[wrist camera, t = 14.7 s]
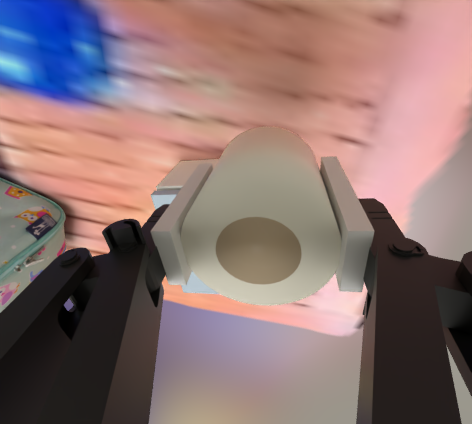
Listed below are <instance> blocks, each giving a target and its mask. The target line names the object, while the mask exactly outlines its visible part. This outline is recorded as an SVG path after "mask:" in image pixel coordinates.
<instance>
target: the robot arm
mask: <svg viewBox="0 0 472 424" xmlns="http://www.w3.org/2000/svg"><path fill="white" fill-rule="evenodd" d="M212 170H213V166H212V163H206V164H199V165H198V166H197V168H196V169H195V170H194V172H193V173H192V175H191V176H190V177H189V179H188V180H187V181H186V183H185V184H184V186H183V187H182V188H181V190H180V191H179V193H178V194H177V195H176V197H175V198H174V199H173V201H172V202H171V204H163V205H162V206H161V207H159V208H158V209H156V210H155V211H154V213H153V214H152V215H151V217H150V218H149V219H148V220H147V222H146V223H145V224H144V225H143V227H142V228H141V226H140V224H139V222H138V221H137V220H134V219H124V220H120V221H117V222H115V223H113V224H111V225H109V226H108V227H106V228H105V229H104V230H103V232H102V233H103V236H104V238H105V240H106V242H107V244H108V246H109V248H110V252H109V253H108V254H103V255H99V256H94V257H92V255H91V253H90V252H89V250H88V249H86V248H76V249H71V250H68V251H66V252H65V253H63V254H61V255H59V256H58V257H57V258H56V259H54V260H53V261H52V262H51V263H50V264H49V265H48V266H47V267H46V268H45V269H44V270H43V271H42V272H41V273H40V274H39V275H38V276H37V277H36V278H35V279H34V280H33V281H32V282H31V283H30V284H29V285H28V286H27V287H26V288H25V289H24V290H23V291H22V292H21V293H20V294H19V295H18V296H17V297H16V298H15V299H14V300H13V301H12V302H11V303H10V304H9V305H8V306H7V307H6V308H5V309H4V310H3V311H2V312H1V313H0V424H148V423H149V414H150V406H151V397H152V389H153V380H154V372H155V362H156V355H157V346H158V337H159V329H160V320H161V311H162V303H163V295H164V289H163V286H162V281H163V279H164V277H165V275H166V277H167V280H168V283H169V285H187V282H188V280H189V277H190V275H191V272H192V270H191V268H190V267H189V265H188V263H187V261H186V257H185V253H184V250H183V246H182V243H181V230H182V226H183V222H184V219H185V217H186V215H187V213H188V211H189V210H190V208H191V206H192V205H193V203H194V201H195V199H196V198H197V196H198V194H199V193H200V191H201V189H202V187H203V186H204V184H205V182H206V181H207V179H208V177H209V176H210V174H211V172H212ZM320 173H321V176H322V179H323V182H324V185H325V188H326V191H327V194H328V198H329V201H330V204H331V207H332V210H333V213H334V216H335V219H336V222H337V225H338V229H339V232H340V235H341V240H342V243H341V251H340V259H339V265H338V268H337V270H336V272H335V274H336V278H337V282H338V286H339V290H340V291H348V292H362V289H363V284H364V282H365V285H366V288H367V290H368V292H367V297H366V301H365V306H364V310H363V315H365V316H364V329H363V342H362V356H361V369H360V384H359V395H358V408H357V421H356V424H462V423H461V419H460V413H459V408H458V403H457V398H456V393H455V388H454V382H453V378H452V373H451V367H450V362H449V358H448V352H447V347H448V349H449V351H450V353H451V355H452V357H453V359H454V361H455V363H456V365H457V368H458V370H459V372H460V373H461V376H462V377H463V380H464V382H465V384H466V386H467V388H468V390H469V392H470V394H471V396H472V251H471V252H468V253H466V254H464V256H463V258H462V260H461V262H458V261H453V260H448V259H443V258H438V257H434V256H431V255H428V252H427V251H426V249H425V248H424V247H423V246H422V245H421V244H419V243H418V242H416V241H413V240H411V239H408V238H405V236H404V235H403V233H402V232H401V230H400V229H399V227H398V226H397V224H396V223H395V221H394V220H393V219H392V217H391V215H390V214H389V213H388V211H387V209H386V208H385V206H384V205H383V204H382V203H380V202H379V201H377V200H376V199H374V198H372V199H358V198H357V196H356V194H355V192H354V190H353V188H352V186H351V184H350V182H349V180H348V178H347V176H346V174H345V172H344V170H343V169H342V167H341V165H340V163H339V161H338V159H337V157H321V168H320ZM69 298H70V300H71V301H72V303H73V304H74V306H73V307H72V308H71V309H70V310H69V311H67V310H66V308H65V307H64V304H65V302H66V301H67V300H68V299H69ZM446 345H447V347H446Z"/></svg>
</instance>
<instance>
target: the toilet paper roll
mask: <svg viewBox="0 0 472 424" xmlns="http://www.w3.org/2000/svg"><path fill="white" fill-rule="evenodd" d="M181 243H182V246H183V250H184V253H185V257H186V261H187V263H188V265H189V267H190V268H191V270H192V271H193V272H194V274H195V275H196V276H197V277H198V278H199V279H200V280H201V281H202V282H203V283H204V284H206V285H207V286H208V287H210V288H211V289H212V290H214V291H216V292H218V293H219V294H221V295H223V296H225V297H228V298H230V299H233V300H236V301H239V302H243V303H248V304H253V305H281V304H287V303H291V302H295V301H298V300H301V299H304V298H306V297H308V296H310V295H312V294H314V293H315V292H317V291H318V290H320V289H321V288H322V287H323V286H324V285H325V284H327V282H328V281H329V280H330V279H331V278H332V277H333V275H334V273H335V272H336V270H337V268H338V265H339V259H340V251H341V243H342V240H341V235H340V232H339V229H338V225H337V222H336V219H335V216H334V213H333V210H332V207H331V204H330V201H329V198H328V194H327V191H326V188H325V185H324V182H323V179H322V176H321V173H320V170H319V167H318V164H317V160H316V157H315V155H314V153H313V151H312V149H311V148H310V146H309V145H308V144H307V143H306V142H305V141H304V140H303V139H302V138H301V137H300V136H298V135H297V134H295V133H293V132H292V131H289V130H287V129H284V128H280V127H274V126H262V127H256V128H253V129H249V130H247V131H245V132H243V133H241V134H240V135H238V136H237V137H235V138H234V139H233V140H232V141H231V142H230V143H229V144H228V146H227V147H226V148H225V150H224V152H223V153H222V155H221V157H220V158H219V160H218V162H217V164H216V165H215V167H214V169H213V170H212V172H211V174H210V176H209V177H208V179H207V181H206V182H205V184H204V186H203V187H202V189H201V191H200V193H199V194H198V196H197V198H196V199H195V201H194V203H193V205H192V206H191V208H190V210H189V211H188V213H187V215H186V217H185V219H184V222H183V226H182V230H181Z"/></svg>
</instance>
